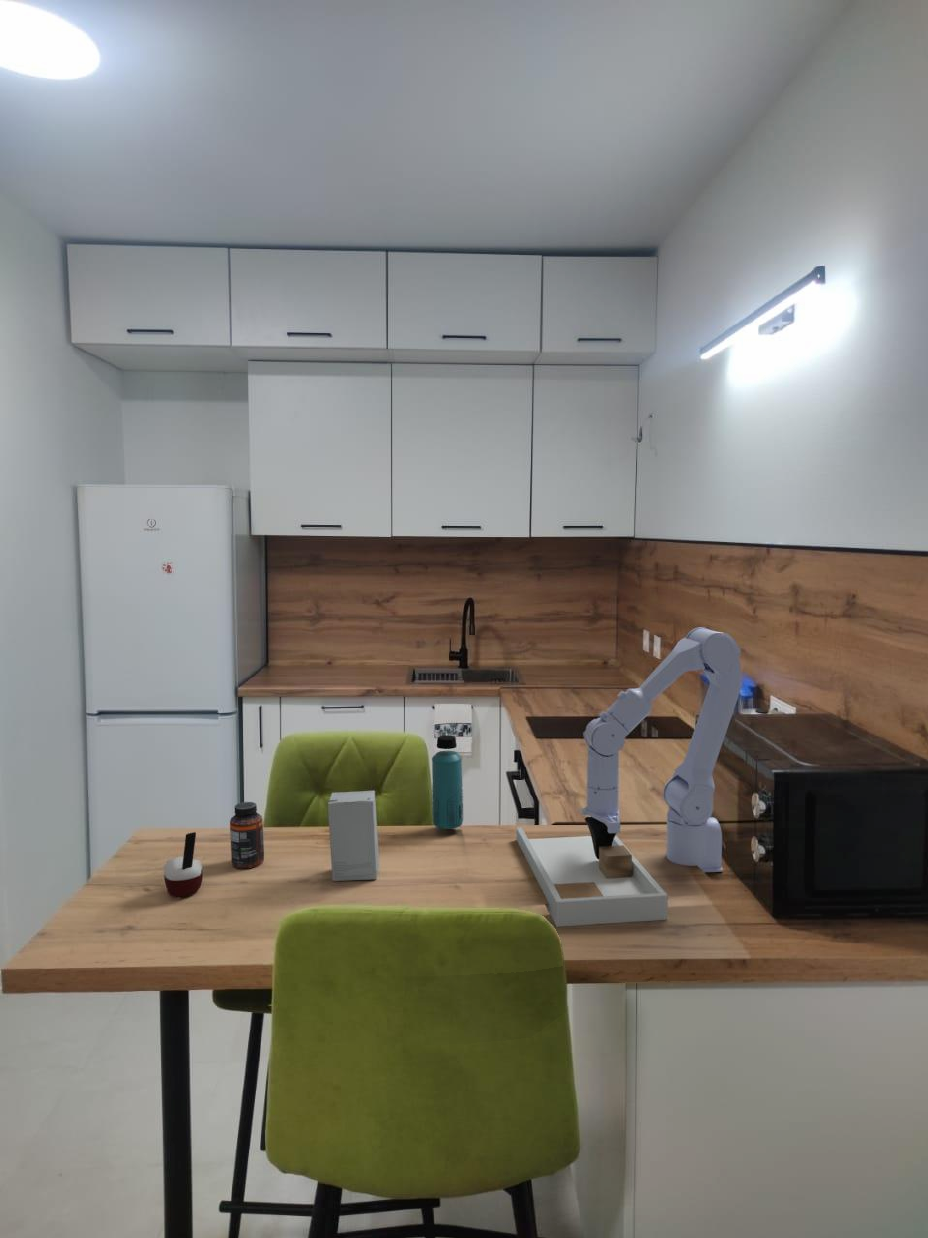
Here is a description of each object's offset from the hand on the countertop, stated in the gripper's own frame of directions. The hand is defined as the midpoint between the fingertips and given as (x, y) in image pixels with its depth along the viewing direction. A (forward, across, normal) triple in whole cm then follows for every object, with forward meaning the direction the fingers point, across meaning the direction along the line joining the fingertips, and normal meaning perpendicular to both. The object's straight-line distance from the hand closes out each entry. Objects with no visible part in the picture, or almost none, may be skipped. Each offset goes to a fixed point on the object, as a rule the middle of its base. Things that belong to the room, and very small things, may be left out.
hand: (601, 857), depth 145 cm
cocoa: (+2, +1, -74) cm, 74 cm away
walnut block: (+1, +5, +1) cm, 5 cm away
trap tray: (+2, +4, -4) cm, 6 cm away
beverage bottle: (+2, -24, -26) cm, 35 cm away
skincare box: (+2, -3, -45) cm, 45 cm away
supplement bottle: (+2, -11, -65) cm, 66 cm away
